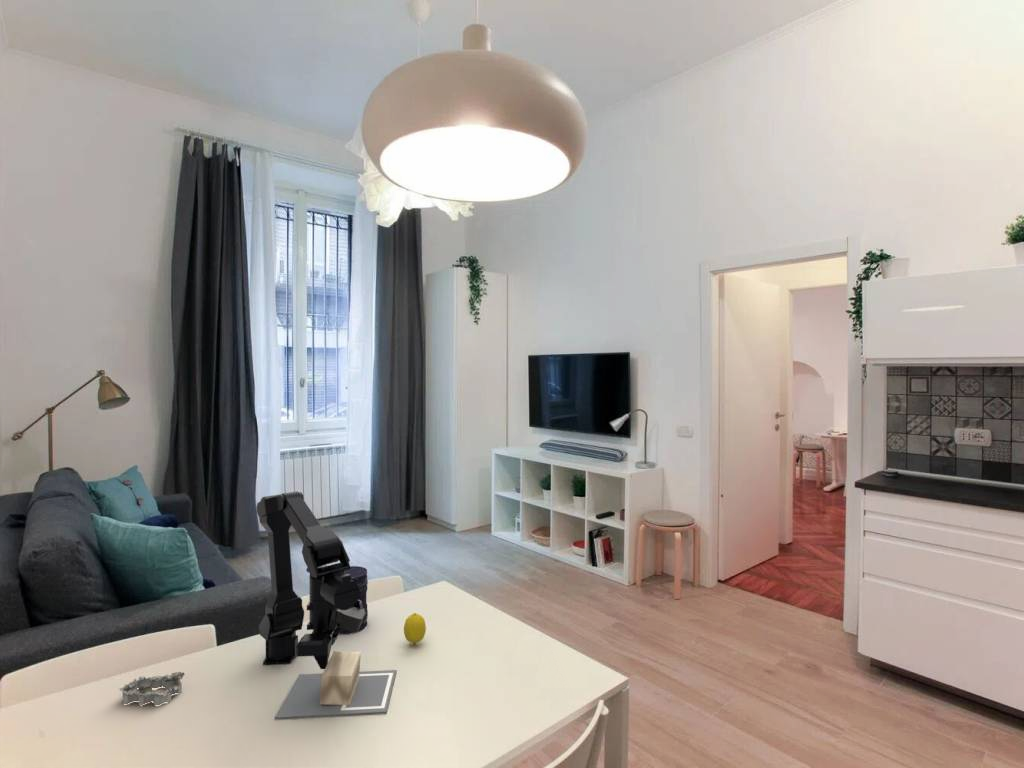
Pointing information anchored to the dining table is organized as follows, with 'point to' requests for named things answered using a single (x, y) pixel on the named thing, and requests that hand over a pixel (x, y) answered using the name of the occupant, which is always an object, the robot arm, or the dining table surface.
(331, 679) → the block
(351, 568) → the storage jar
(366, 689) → the mat
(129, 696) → the egg carton
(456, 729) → the dining table surface
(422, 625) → the lemon
